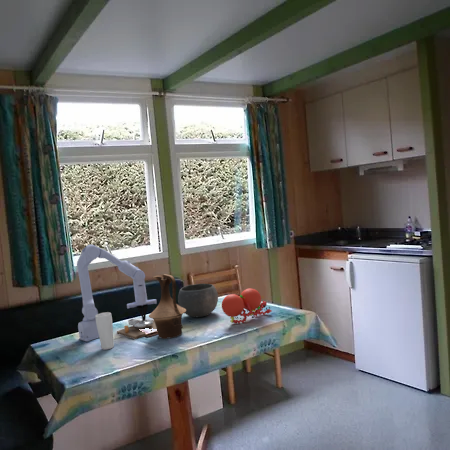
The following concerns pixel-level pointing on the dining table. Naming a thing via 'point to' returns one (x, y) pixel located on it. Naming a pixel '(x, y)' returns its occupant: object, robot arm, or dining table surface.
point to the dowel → (126, 329)
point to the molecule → (244, 305)
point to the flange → (140, 323)
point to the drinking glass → (105, 330)
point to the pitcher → (167, 310)
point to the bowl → (198, 299)
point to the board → (135, 331)
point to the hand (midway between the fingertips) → (144, 320)
